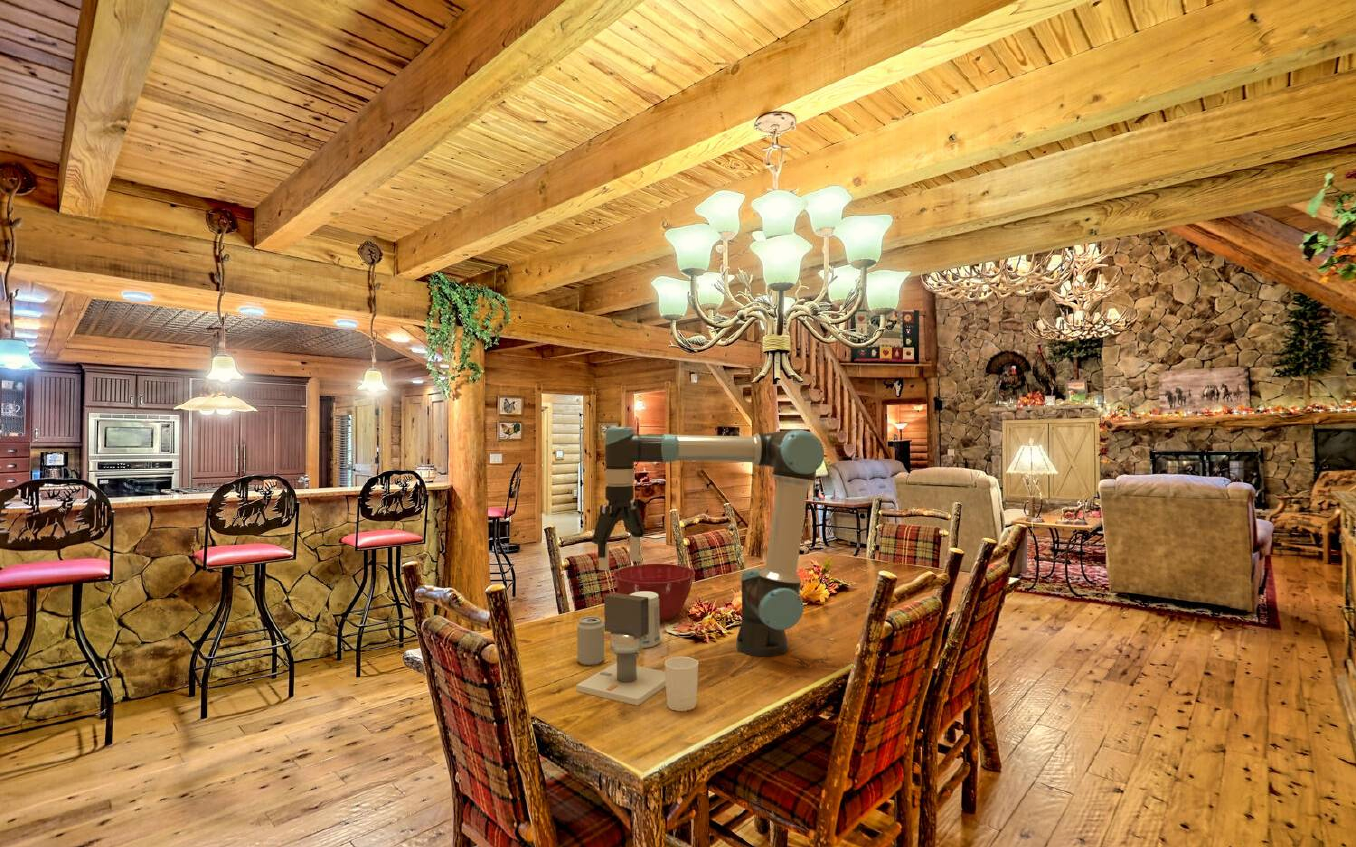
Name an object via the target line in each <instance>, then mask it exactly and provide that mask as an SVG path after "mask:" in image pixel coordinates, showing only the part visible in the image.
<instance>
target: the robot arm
mask: <svg viewBox="0 0 1356 847" xmlns="http://www.w3.org/2000/svg"><path fill="white" fill-rule="evenodd" d="M604 441H605V443H604V453H605V454H604V455H605V457H604V458H605V459H604V461H605V462H604V463H605V466H604V467H605V484H606V486H605V487H604V488H605V490H604V491H605V492H604V494H605V498H604V499H605V500H606V501H608V502H607V503H608V504H607V505H605V504H603V505H600V506H599V515H598V519H597V522H596V526H595V528H594V532H593V535H592V539H591V542H592V543H593V544H594V545H597V558H598V570H599V571H605V572H606V571H610V544H607V543H608V541H609V540H610V537H611V535H612V533H613V531H614V528H615V526H616V524H618V523H619V522H621V521H623V522H624V524H625V526H626V527H627V529H628V531H629V532H630V535H631V536H629V561H631V562H640V545H641V543H640V541H641V539H640V537H642V538H643V537H644V534H645V532H646V530H645V526H644V524H643V520H642V517H641V513H640V509H639V501H637V500H634V498H635V496H634V495H635V492H634V491H635V489H634V486H633V484H634V483H635V474H634V473H635V471H634V469H635V468H634V463H665V464H666V463H673V462H676V461H677V462H679V461H681V462H682V461H683V462H725V463H726V462H729V463H730V462H731V463H733V462H734V463H752V464H753V465H754V466H756V467H757V466H758V467H761V466H762V467H767V468H768V467H769V468H773V469H772V477H773V478H774V480H775V481H776V488H775V496H774V500H773V501H774V502H773V509H772V515H771V523H770V529H769V538H768V545H767V551H766V552H767V554H766V558H765V560H766V561H765V567H764V568H753V569H751V568H750V569H745V570H744V571H743V572H742V573H741V580H740V582H741V617H742V618H741V623H740V625H739V626H740V627H739V630H738V633H737V636H736V641H735V642H736V649H737V650H738V651H740V653H744V654H746V655H750V656H756V657H757V656H758V657H772V656H779V655H781V654H784V653H786V652H787V651H788V650H789V641H788V638H787V635H786V634H787V633H786V631H785V630H788V629H791V628H792V627H794V626H795V625H797V624H798V623H799V621H800V620H801V618H802V616H803V614H804V602H803V599H802V597H801V595H800V591H801V585H802V584H801V583H802V579H801V577H799V575H798V574H797V572H798V565H799V564H798V563H799V556H800V550H801V541H802V535H803V528H804V527H803V526H804V520H805V513H806V512H805V511H806V504H807V499H808V498H807V497H808V489H809V487H810V486H811V485H812V484H813V483H815V482H816V481H815V479H816V473H817V470H818V469H819V468H820V467H821V466H822V464H823V462H824V458H825V449H824V446H823V443H822V441H821V440H820V439H819V437H818V436H817V435H816V434H814V433H812V432H810V431H808V430H804V429H793V430H792V429H791V430H785V429H784V430H780V431H775V432H766V433H764V432H763V433H760V432H759V433H757V432H756V433H754V434H753V435H752V436H743V435H742V436H741V435H737V436H736V435H704V434H703V435H702V434H701V435H698V434H697V435H696V434H694V435H693V434H671V433H670V434H669V433H656V434H655V433H646V434H644V433H643V434H637V433H635V432H634V428H633V427H632V426H629V427H628V426H609V427H608V428H607V429H606V430H605V440H604Z"/></svg>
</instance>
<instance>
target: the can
mask: <svg viewBox="0 0 1356 847" xmlns="http://www.w3.org/2000/svg"><path fill="white" fill-rule="evenodd" d="M602 620H603V619H602V617H600V616H595V615H594V616H592V615H590V616H584V617H581V618H580V619H579V622H578V623H577V625H576V627H577V628H576V630H577V632H576V638H577V639H576V641H577V642H576V644H577V645H576V648H577V651H576V653H577V654H576V655H577V656H576V658H577V659H576V660H577V662H579V663H580V665H582V664H583V665H582V666H586V665H588V666H589V667H591V666H590V665H593V666H597V665H599V664H601V663H602V662H603V661H604V660H605V639H604V635H605V622H603V621H602Z"/></svg>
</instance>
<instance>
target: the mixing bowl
mask: <svg viewBox="0 0 1356 847" xmlns="http://www.w3.org/2000/svg"><path fill="white" fill-rule="evenodd" d="M612 574H613V578H614V581H615V585H616V588H617V591H618V592H617V593H620V594H627V595H630V594H631V593H635V592H642V591H648V592H655V593H657V594H658V595H659V618H660V622H665V621H668V620H669V621H670V620H671V619H673V618H674V617H675V616H677V615H678V614H679V613H681V611H682V610H683V607H684V606H685V604H686V602H687V599H688V597H689V596H690V595H689V594H690V591H691V588H692V585H693V582H694V576H695V575H696V572H695V570H694V569H692V568H691V567H688V566H684V565H679V564H670V563H643V564H642V563H641V564H634V565H628V566H625V567H621V568H619V569H617V570H615V571H614V572H613V573H612Z"/></svg>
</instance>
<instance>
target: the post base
mask: <svg viewBox="0 0 1356 847" xmlns="http://www.w3.org/2000/svg"><path fill="white" fill-rule="evenodd" d="M613 654H614V655H616V662H614V663H613V664H611V665H609V666H607V667H606V668H604V669H602V670H600V671H599V672H597V673H595V674H593V675H592V676H589V677H588V678H586V679H584V680H582V681H581V682H579V683H577V684H575V685H576V686H575V688H576V689H575V692H578V693H582V694H586V695H591V696H595V697H599V698H603V699H608V700H613V701H616V702H620V703H625V704H629V705H633V706H636V707H638V706H640V705H641V704H642V703H644V702H646V701H647V700H648V699H649V698H651V697H652V696H654V695H655V694H656V693H658V692H659V691H661V690H662V689H664V688H666V683H665V670H661V669H655V668H650V667H644V666H640V665H638V664H637V662H638V660H637V659H638V658H640V652H635V653H628V654H622V653H616V652H613Z"/></svg>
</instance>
